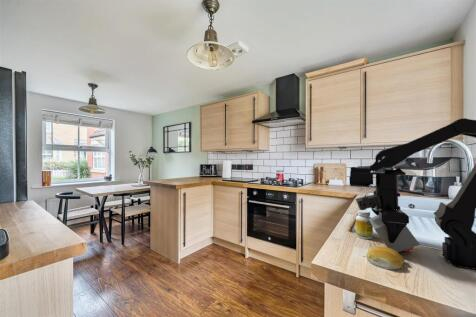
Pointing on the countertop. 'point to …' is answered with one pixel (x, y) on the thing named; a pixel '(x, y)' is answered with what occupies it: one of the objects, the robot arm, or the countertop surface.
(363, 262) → the countertop surface
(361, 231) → the supplement bottle
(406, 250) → the ball
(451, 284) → the countertop surface
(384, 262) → the bread roll
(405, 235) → the gray block
